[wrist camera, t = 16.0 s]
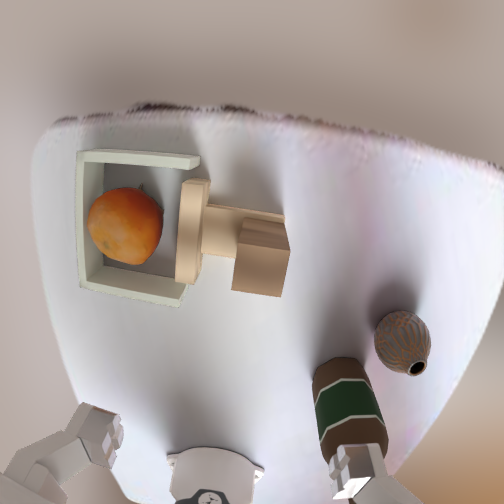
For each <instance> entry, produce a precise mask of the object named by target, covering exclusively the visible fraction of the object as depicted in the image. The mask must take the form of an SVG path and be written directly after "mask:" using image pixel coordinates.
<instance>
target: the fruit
mask: <svg viewBox="0 0 504 504" xmlns="http://www.w3.org/2000/svg"><path fill="white" fill-rule="evenodd" d="M142 184H143V183H142ZM142 184H141V185H140V187H139V189H136V188H118V189H114V190H110V191H107V192H105V193H104V194H103V195H101V196H100V197H98V198H97V199H96V200H95V202H94V203H93V205H92V207H91V209H90V211H89V214H88V220H87V228H88V230H89V232H90V235H91V238H92V240H93V242H94V243H95V244H96V246H97V248H98V249H99V250H100V251H101V252H102V253H104V254H105V255H106V256H107V257H109V258H111V259H114V260H117V261H120V262H124V263H127V264H131V265H138V264H143V263H144V262H145V261H146V260H147V259H148V258H149V257H150V256H151V255H152V253H153V252H154V250H155V249H156V247H157V245H158V243H159V240H160V238H161V234H162V228H163V214H164V210H162V209H161V208H160V207H159V206H158V204H157V203H156V201H155V200H154V199H152V198H151V197H149V196H148V195H147V194H146V193H145V192H144V191H143V190H142Z"/></svg>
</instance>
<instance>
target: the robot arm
mask: <svg viewBox="0 0 504 504" xmlns="http://www.w3.org/2000/svg"><path fill="white" fill-rule="evenodd" d="M120 421H121V418H120V414H117V413H113V412H110V411H107V410H104V409H101V408H98V407H96V406H93V405H90V404H87V403H84V402H83V403H81V404H80V405H79V407H78V408H77V410H76V412H75V413H74V415H73V417H72V419H71V420H70V422H69V424H68V426H67V428H66V429H65V431H59V432H56V433H55V434H52V435H50V436H48V437H46V438H44V439H42V440H40V441H38V442H35V443H33V444H31V445H29V446H27V447H25V448H22V449H20V450H18V451H17V452H16V453H15V455H14V457H13V458H12V460H11V462H10V463H9V465H8V467H7V469H6V470H5V472H4V474H2V473H1V472H0V504H66V502H67V499H68V496H67V494H66V493H65V491H64V490H63V489H62V488H61V486H60V485H61V484H62V483H64V482H65V481H67V480H68V479H70V478H71V477H73V476H74V475H76V474H77V473H79V472H80V471H82V470H83V469H85V468H86V467H87V466H89V465H90V464H91V463H94V464H97V465H100V466H103V467H106V468H109V469H112V466H113V464H114V461H115V459H116V457H117V456H116V453H115V450H117V449H118V448H120V446H121V444H122V441H123V436H124V430H123V426H122V425H121V424H120ZM167 462H168V464H169V466H170V468H171V470H172V472H173V474H172V479H171V484H170V492H171V494H172V496H173V497H174V498H175V500H176V502H175V504H252V502H253V493H254V485H255V484H256V483H257V481H258V480H259V479H260V478H261V477H262V476H263V475H264V469H262V468H260V467H258V466H255V465H253V464H252V463H251V462H250V461H249V460H248V459H246V458H245V457H243V456H241V455H239V454H237V453H234V452H231V451H228V450H223V449H218V448H207V447H201V448H192V449H188V450H185V451H183V452H182V453H179V454H171V455H168V456H167ZM329 476H330V477H331V478H332V479H333V480H334V481H333V483H332V484H331V492H332V499H344V498H353V500H354V501H355V503H356V504H424V503H423V502H422V501H420V500H419V499H418V498H417V497H416V496H415V495H413V494H412V493H411V492H410V491H409V490H408V489H406V488H405V487H404V486H403V485H402V484H401V483H399V482H398V481H397V480H396V479H395V478H394V477H393V476H392V475H390V476H388V473H387V470H386V466H385V463H384V459H383V456H382V452H381V449H380V446H379V444H378V443H370V444H345V445H340V446H339V447H338V448H337V454H335V455H333V456H332V458H331V460H330V464H329Z"/></svg>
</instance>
